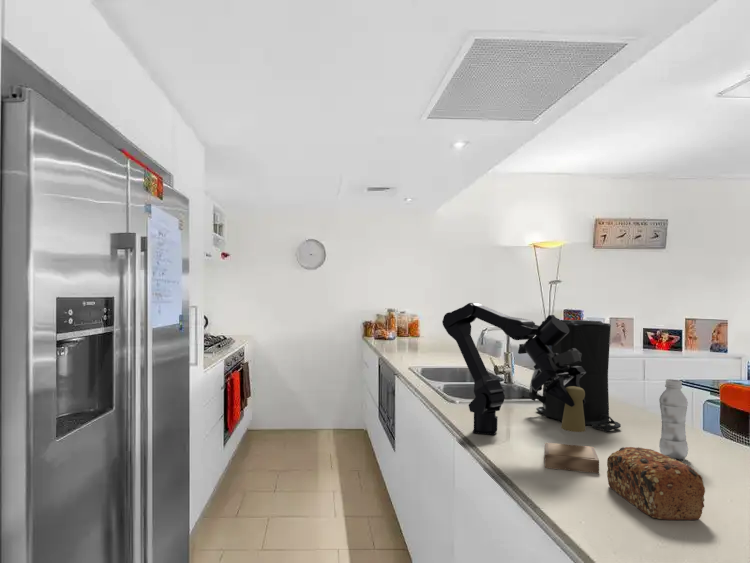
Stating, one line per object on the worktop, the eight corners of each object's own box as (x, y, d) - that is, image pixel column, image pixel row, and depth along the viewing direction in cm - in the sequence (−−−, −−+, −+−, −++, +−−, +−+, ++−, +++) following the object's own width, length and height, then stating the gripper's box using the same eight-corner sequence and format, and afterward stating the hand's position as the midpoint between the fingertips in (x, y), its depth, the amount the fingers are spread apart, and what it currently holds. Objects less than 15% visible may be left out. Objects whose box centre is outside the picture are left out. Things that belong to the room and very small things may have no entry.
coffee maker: (561, 407, 204) (562, 317, 205) (646, 425, 177) (646, 321, 178) (521, 413, 191) (522, 318, 192) (606, 434, 164) (607, 322, 165)
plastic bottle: (678, 463, 136) (678, 383, 137) (653, 455, 142) (653, 379, 143) (693, 460, 139) (694, 381, 140) (669, 453, 145) (669, 377, 146)
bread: (706, 522, 101) (706, 468, 101) (649, 522, 100) (649, 467, 101) (652, 486, 119) (652, 441, 119) (604, 486, 119) (604, 440, 119)
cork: (585, 433, 138) (587, 390, 138) (560, 430, 140) (562, 387, 140) (585, 427, 144) (586, 386, 144) (561, 424, 146) (562, 383, 146)
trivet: (545, 467, 131) (545, 454, 131) (544, 454, 142) (544, 441, 142) (599, 473, 127) (599, 459, 127) (593, 458, 139) (593, 446, 139)
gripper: (542, 339, 139) (581, 390, 131) (580, 337, 151) (618, 383, 143) (515, 366, 145) (551, 415, 137) (554, 361, 157) (588, 407, 149)
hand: (578, 404), depth 141 cm, fingers closed on cork, 5 cm apart
